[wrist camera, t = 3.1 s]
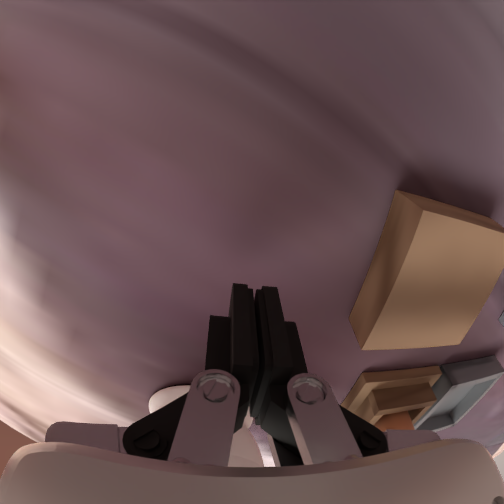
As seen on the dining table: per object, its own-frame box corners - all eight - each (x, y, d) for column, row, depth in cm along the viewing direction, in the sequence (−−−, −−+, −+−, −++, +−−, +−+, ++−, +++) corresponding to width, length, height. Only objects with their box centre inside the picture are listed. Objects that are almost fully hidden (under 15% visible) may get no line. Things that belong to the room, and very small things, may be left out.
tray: (441, 364, 20) (453, 385, 18) (494, 355, 21) (505, 371, 19) (391, 423, 25) (398, 441, 23) (447, 410, 26) (454, 425, 24)
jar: (292, 411, 22) (313, 578, 8) (209, 444, 25) (206, 575, 12) (189, 353, 18) (167, 594, 4) (116, 400, 21) (84, 557, 8)
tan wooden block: (392, 187, 13) (423, 210, 10) (487, 216, 14) (516, 237, 11) (346, 314, 17) (361, 350, 14) (440, 316, 18) (459, 344, 15)
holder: (362, 372, 19) (373, 404, 17) (437, 365, 20) (451, 390, 18) (327, 423, 23) (333, 450, 21) (396, 414, 24) (405, 437, 21)
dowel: (378, 398, 20) (412, 504, 11) (409, 393, 20) (445, 490, 12) (363, 417, 21) (389, 515, 13) (392, 413, 22) (421, 503, 13)
